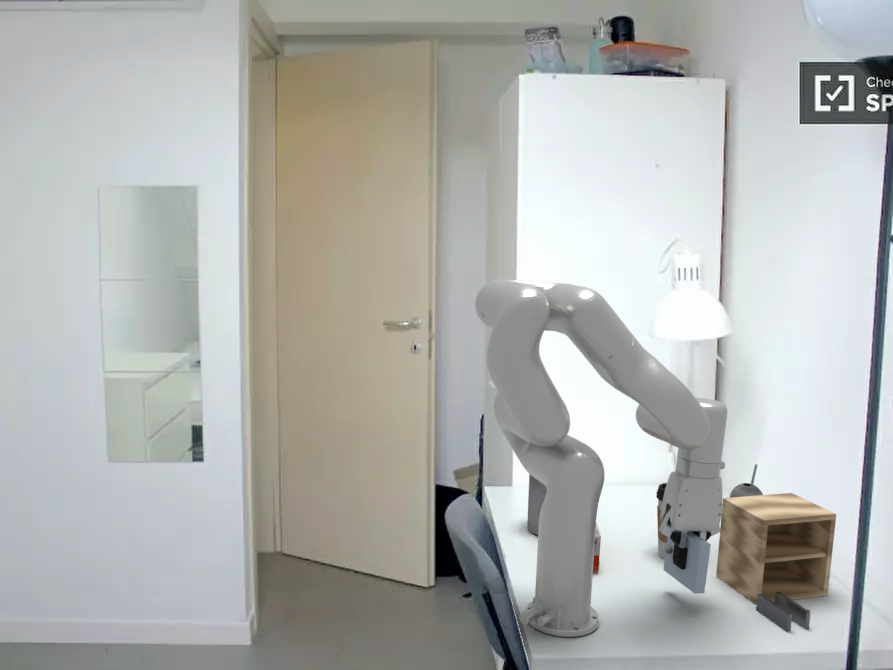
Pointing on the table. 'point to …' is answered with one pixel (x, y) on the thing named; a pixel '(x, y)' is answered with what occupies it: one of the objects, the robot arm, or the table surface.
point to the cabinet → (775, 546)
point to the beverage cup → (746, 488)
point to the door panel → (690, 563)
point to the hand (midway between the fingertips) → (685, 565)
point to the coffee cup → (661, 538)
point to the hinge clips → (783, 611)
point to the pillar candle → (535, 503)
